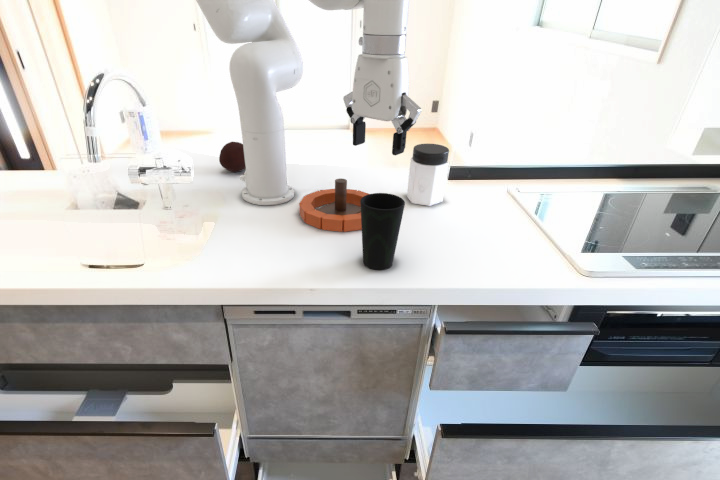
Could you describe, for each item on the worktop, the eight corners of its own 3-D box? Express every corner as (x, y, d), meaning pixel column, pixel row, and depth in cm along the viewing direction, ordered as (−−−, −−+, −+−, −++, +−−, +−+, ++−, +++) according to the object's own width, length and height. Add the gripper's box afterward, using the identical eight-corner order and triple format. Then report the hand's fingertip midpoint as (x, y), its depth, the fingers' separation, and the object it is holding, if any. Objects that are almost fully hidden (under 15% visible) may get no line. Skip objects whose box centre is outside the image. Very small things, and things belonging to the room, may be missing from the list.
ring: (284, 214, 100) (283, 203, 99) (337, 193, 111) (337, 183, 110) (344, 239, 91) (344, 227, 90) (395, 213, 102) (396, 202, 100)
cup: (395, 275, 80) (402, 211, 73) (354, 270, 81) (357, 207, 74) (399, 255, 86) (406, 194, 79) (361, 251, 87) (364, 191, 80)
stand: (315, 214, 101) (314, 180, 96) (338, 204, 106) (339, 171, 101) (342, 224, 97) (342, 189, 92) (365, 213, 102) (366, 180, 97)
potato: (259, 171, 123) (256, 142, 119) (230, 179, 118) (226, 148, 113) (242, 164, 128) (239, 135, 123) (214, 171, 123) (209, 141, 118)
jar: (402, 202, 107) (407, 150, 100) (410, 191, 113) (416, 141, 106) (439, 208, 105) (447, 155, 97) (445, 196, 111) (454, 146, 103)
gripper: (332, 44, 80) (332, 144, 90) (413, 52, 71) (403, 162, 81) (358, 41, 84) (356, 137, 95) (438, 48, 75) (425, 153, 86)
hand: (377, 148), depth 88 cm, fingers open, 9 cm apart
